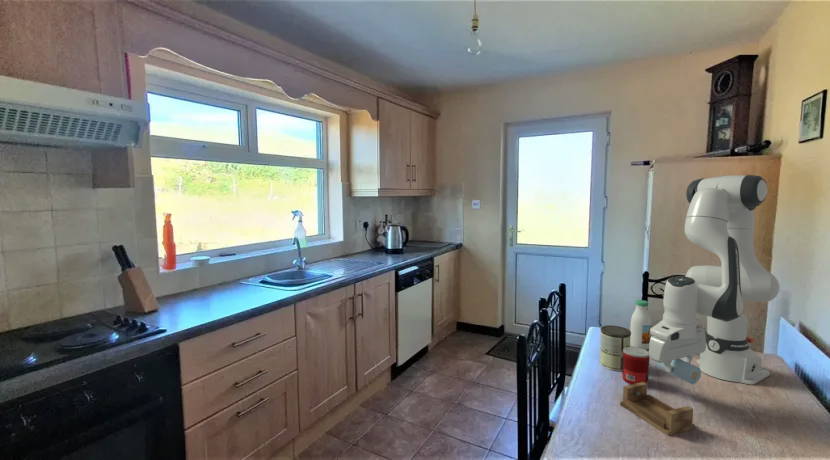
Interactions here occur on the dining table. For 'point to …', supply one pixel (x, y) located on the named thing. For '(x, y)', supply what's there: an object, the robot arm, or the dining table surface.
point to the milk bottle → (641, 326)
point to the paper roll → (683, 370)
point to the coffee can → (613, 346)
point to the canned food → (635, 365)
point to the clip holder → (656, 410)
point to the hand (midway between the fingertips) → (677, 369)
